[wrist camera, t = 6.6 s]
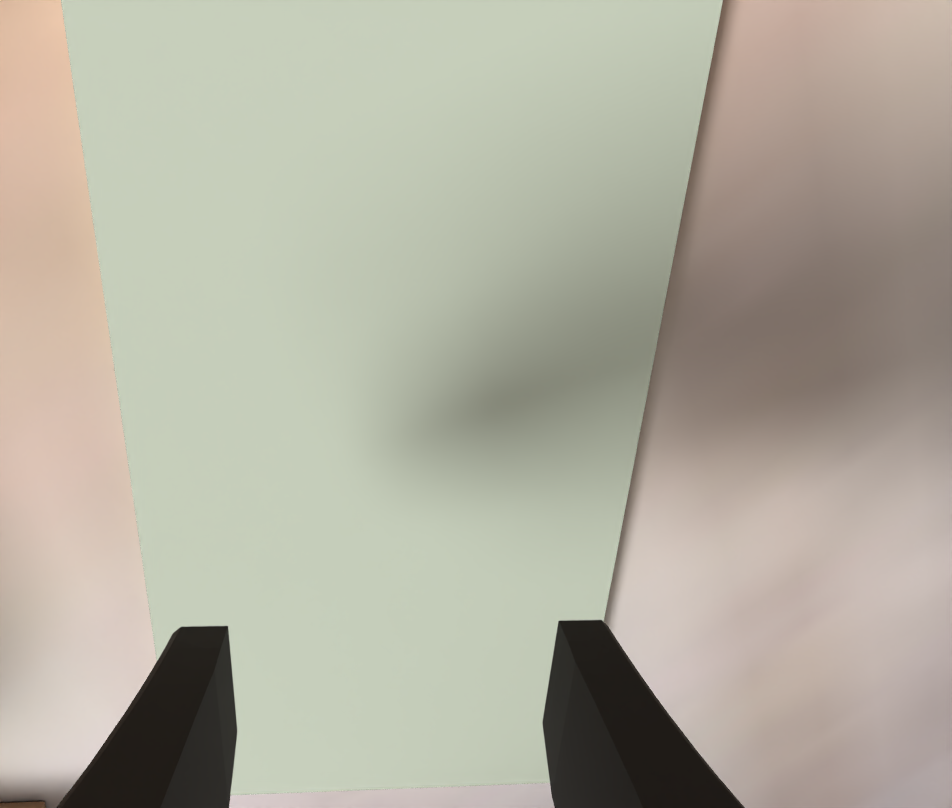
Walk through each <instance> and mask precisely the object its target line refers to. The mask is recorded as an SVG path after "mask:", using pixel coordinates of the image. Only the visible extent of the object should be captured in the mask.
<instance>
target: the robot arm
mask: <svg viewBox="0 0 952 808" xmlns="http://www.w3.org/2000/svg"><path fill="white" fill-rule="evenodd" d="M542 724H543V732H544V740H545V748H546V756H547V764H548V771H549V778H550V785H551V792H552V798H553V802H554V806H555V808H745V807H744V806H743V805H742V804H741V803H740V802H739V801H738V800H737V798H736V797H735V796H734V795H733V794H732V793H731V791H730V790H729V789H728V788H727V787H726V786H725V784H724V783H723V782H722V781H721V780H720V779H719V777H718V776H717V775H716V774H715V773H714V771H713V770H712V769H711V768H710V766H709V765H708V764H707V763H706V762H705V760H704V759H703V758H702V757H701V755H700V754H699V753H698V752H697V750H696V749H695V748H694V747H693V745H692V744H691V743H690V741H689V740H688V739H687V737H686V736H685V735H684V734H683V732H682V731H681V730H680V728H679V727H678V726H677V725H676V723H675V722H674V721H673V719H672V718H671V717H670V715H669V714H668V713H667V711H666V710H665V709H664V707H663V706H662V705H661V703H660V702H659V701H658V699H657V698H656V696H655V695H654V694H653V692H652V691H651V689H650V688H649V686H648V685H647V684H646V682H645V681H644V679H643V678H642V677H641V675H640V674H639V672H638V671H637V669H636V668H635V666H634V665H633V664H632V662H631V661H630V659H629V658H628V656H627V655H626V653H625V652H624V650H623V649H622V647H621V646H620V644H619V643H618V641H617V640H616V638H615V636H614V635H613V633H612V632H611V630H610V629H609V627H608V626H607V625H606V624H605V623H604V622H603V621H602V620H564V621H558V627H557V633H556V640H555V646H554V652H553V658H552V665H551V671H550V677H549V684H548V690H547V696H546V703H545V709H544V715H543V721H542ZM236 740H237V721H236V710H235V698H234V687H233V676H232V664H231V653H230V642H229V630H228V626H188V627H180V628H179V629H177V630H176V631H175V632H174V633H173V634H172V636H171V638H170V639H169V641H168V643H167V645H166V647H165V649H164V650H163V652H162V654H161V656H160V657H159V659H158V661H157V663H156V664H155V666H154V668H153V669H152V671H151V673H150V674H149V676H148V678H147V679H146V681H145V682H144V684H143V686H142V687H141V689H140V690H139V692H138V694H137V695H136V697H135V698H134V700H133V701H132V703H131V704H130V706H129V708H128V709H127V711H126V712H125V714H124V715H123V717H122V718H121V720H120V721H119V722H118V724H117V725H116V727H115V728H114V730H113V731H112V733H111V734H110V735H109V737H108V738H107V740H106V741H105V743H104V744H103V746H102V747H101V748H100V750H99V751H98V753H97V754H96V756H95V757H94V759H93V760H92V761H91V763H90V764H89V766H88V767H87V768H86V770H85V771H84V772H83V774H82V775H81V776H80V778H79V779H78V780H77V782H76V783H75V784H74V785H73V787H72V788H71V789H70V791H69V792H68V793H67V795H66V796H65V797H64V798H63V800H62V801H61V802H60V804H59V805H58V806H57V808H229V802H230V793H231V785H232V777H233V768H234V759H235V750H236Z"/></svg>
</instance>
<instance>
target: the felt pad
mask: <svg viewBox="0 0 952 808" xmlns="http://www.w3.org/2000/svg"><path fill="white" fill-rule="evenodd" d="M61 3H62V10H63V17H64V24H65V31H66V38H67V44H68V51H69V58H70V65H71V72H72V79H73V86H74V93H75V100H76V107H77V113H78V120H79V127H80V134H81V141H82V148H83V155H84V162H85V169H86V175H87V182H88V189H89V196H90V203H91V210H92V217H93V224H94V231H95V238H96V244H97V251H98V258H99V265H100V272H101V279H102V286H103V293H104V300H105V306H106V313H107V320H108V327H109V334H110V341H111V348H112V355H113V362H114V369H115V375H116V382H117V389H118V396H119V403H120V410H121V417H122V424H123V431H124V437H125V444H126V451H127V458H128V465H129V472H130V479H131V486H132V493H133V500H134V506H135V513H136V520H137V527H138V534H139V541H140V548H141V555H142V562H143V569H144V575H145V582H146V589H147V596H148V603H149V610H150V617H151V624H152V631H153V637H154V644H155V651H156V658H157V661H158V659H159V657H160V656H161V654H162V652H163V650H164V649H165V647H166V645H167V643H168V641H169V639H170V638H171V636H172V634H173V633H174V632H175V631H176V630H177V629H179V628H180V627H188V626H228V630H229V642H230V653H231V664H232V676H233V687H234V698H235V710H236V721H237V740H236V750H235V759H234V768H233V777H232V785H231V793H230V795H250V794H276V793H302V792H327V791H353V790H379V789H404V788H430V787H456V786H481V785H507V784H533V783H550V778H549V771H548V764H547V756H546V748H545V740H544V732H543V724H542V721H543V715H544V709H545V703H546V696H547V690H548V684H549V677H550V671H551V665H552V658H553V652H554V646H555V640H556V633H557V627H558V621H564V620H602V621H603V622H604V617H605V612H606V607H607V601H608V596H609V591H610V586H611V581H612V575H613V570H614V565H615V560H616V555H617V549H618V544H619V539H620V534H621V529H622V523H623V518H624V513H625V508H626V502H627V497H628V492H629V487H630V482H631V476H632V471H633V466H634V461H635V456H636V450H637V445H638V440H639V435H640V430H641V424H642V419H643V414H644V409H645V404H646V398H647V393H648V388H649V383H650V377H651V372H652V367H653V362H654V357H655V351H656V346H657V341H658V336H659V331H660V325H661V320H662V315H663V310H664V305H665V299H666V294H667V289H668V284H669V279H670V273H671V268H672V263H673V258H674V252H675V247H676V242H677V237H678V232H679V226H680V221H681V216H682V211H683V206H684V200H685V195H686V190H687V185H688V180H689V174H690V169H691V164H692V159H693V154H694V148H695V143H696V138H697V133H698V128H699V122H700V117H701V112H702V107H703V101H704V96H705V91H706V86H707V81H708V75H709V70H710V65H711V60H712V55H713V49H714V44H715V39H716V34H717V29H718V23H719V18H720V13H721V8H722V3H723V0H61Z"/></svg>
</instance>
